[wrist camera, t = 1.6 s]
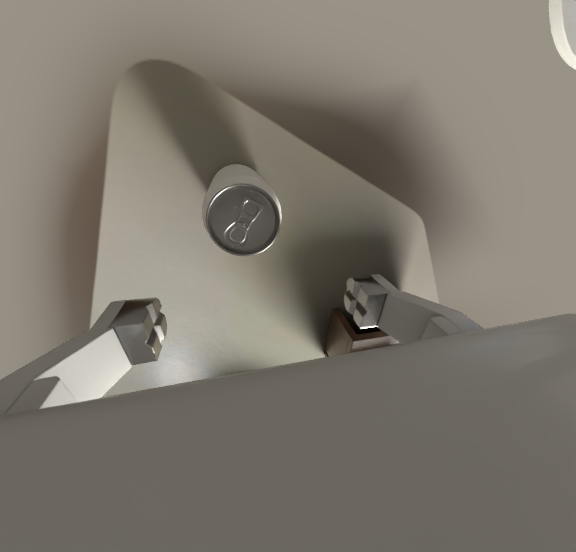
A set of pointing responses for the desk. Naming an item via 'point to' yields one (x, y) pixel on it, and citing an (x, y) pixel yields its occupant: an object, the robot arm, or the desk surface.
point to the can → (241, 211)
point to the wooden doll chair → (352, 337)
